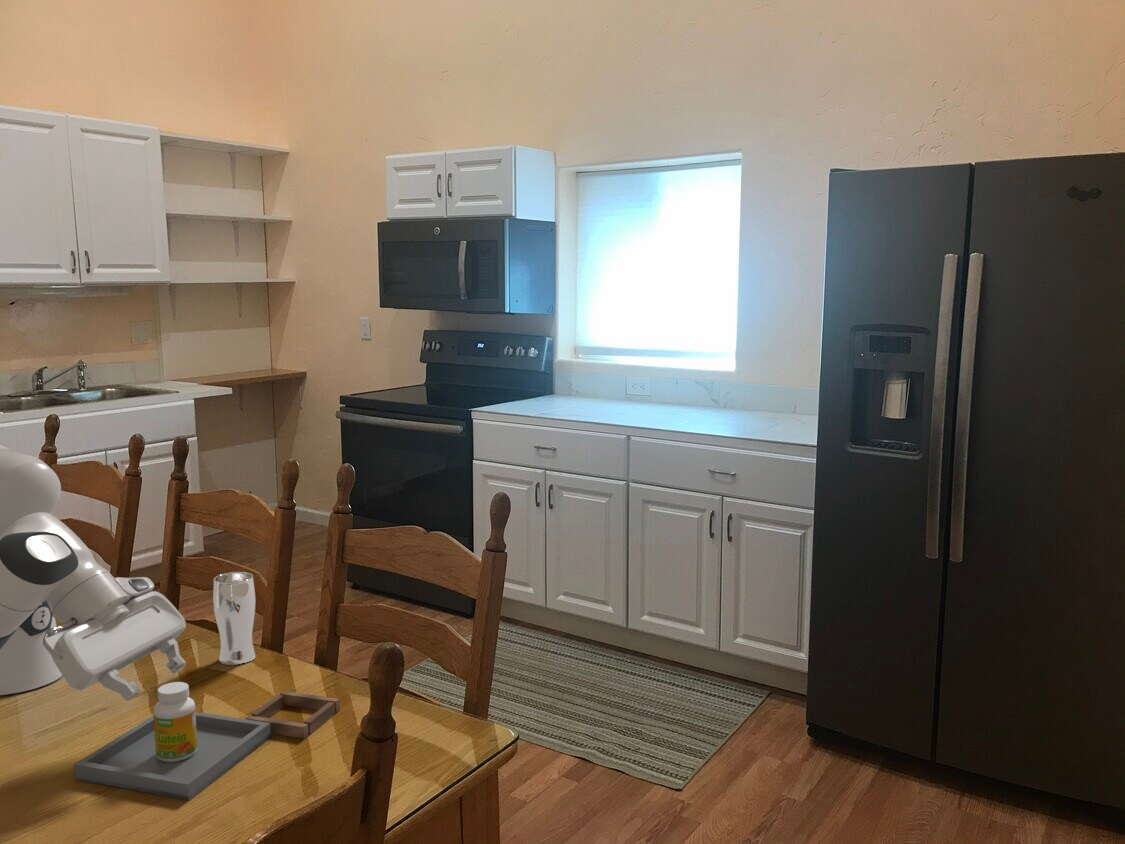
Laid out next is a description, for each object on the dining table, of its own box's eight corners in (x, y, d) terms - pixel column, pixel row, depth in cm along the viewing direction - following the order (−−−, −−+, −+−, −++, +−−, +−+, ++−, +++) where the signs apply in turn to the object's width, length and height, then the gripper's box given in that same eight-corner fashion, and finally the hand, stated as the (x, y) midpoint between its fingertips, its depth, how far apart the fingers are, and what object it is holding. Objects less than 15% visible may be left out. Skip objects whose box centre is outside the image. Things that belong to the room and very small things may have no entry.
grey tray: (75, 779, 125) (74, 764, 125) (167, 721, 142) (167, 707, 142) (188, 800, 120) (187, 784, 120) (270, 737, 137) (270, 723, 137)
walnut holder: (245, 729, 139) (245, 718, 139) (284, 701, 149) (283, 691, 149) (304, 738, 136) (304, 727, 136) (339, 709, 146) (339, 698, 146)
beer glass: (244, 648, 171) (240, 569, 169) (265, 657, 167) (262, 576, 165) (208, 659, 166) (204, 578, 164) (230, 669, 161) (226, 585, 159)
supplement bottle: (153, 765, 128) (148, 697, 126) (159, 747, 133) (155, 681, 131) (195, 760, 129) (191, 693, 128) (199, 742, 134) (196, 677, 133)
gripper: (48, 620, 122) (116, 700, 120) (156, 574, 141) (216, 642, 140) (23, 649, 123) (90, 728, 122) (133, 600, 143) (192, 667, 142)
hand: (158, 682), depth 131 cm, fingers open, 8 cm apart
